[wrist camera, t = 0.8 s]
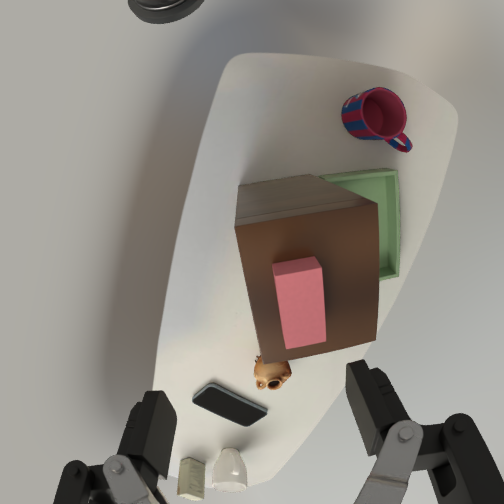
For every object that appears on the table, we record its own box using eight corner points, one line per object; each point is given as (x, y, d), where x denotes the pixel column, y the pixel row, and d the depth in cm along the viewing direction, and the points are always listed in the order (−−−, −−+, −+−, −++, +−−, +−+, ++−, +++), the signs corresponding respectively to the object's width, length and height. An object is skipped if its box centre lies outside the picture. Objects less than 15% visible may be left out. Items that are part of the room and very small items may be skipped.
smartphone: (246, 427, 55) (189, 401, 51) (246, 424, 56) (190, 398, 52) (269, 413, 53) (210, 384, 49) (269, 409, 54) (211, 381, 50)
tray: (318, 175, 38) (325, 178, 35) (386, 168, 38) (397, 170, 35) (328, 280, 44) (335, 291, 40) (389, 267, 43) (399, 276, 40)
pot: (291, 343, 48) (258, 336, 47) (303, 376, 41) (266, 370, 39) (277, 366, 50) (245, 360, 49) (287, 398, 43) (251, 394, 41)
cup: (362, 86, 34) (383, 77, 27) (403, 139, 36) (428, 140, 30) (331, 112, 35) (349, 106, 29) (375, 166, 38) (398, 171, 31)
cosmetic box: (179, 460, 63) (175, 494, 51) (189, 456, 62) (185, 492, 50) (196, 468, 64) (193, 501, 53) (206, 465, 64) (204, 499, 52)
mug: (241, 459, 62) (242, 493, 52) (211, 455, 61) (209, 490, 51) (254, 439, 58) (256, 478, 48) (220, 435, 57) (218, 474, 47)
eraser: (271, 263, 20) (274, 276, 18) (314, 255, 20) (322, 267, 18) (282, 333, 22) (286, 349, 20) (320, 326, 22) (326, 341, 20)
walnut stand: (238, 185, 38) (234, 226, 19) (310, 174, 38) (378, 203, 18) (253, 266, 42) (263, 365, 23) (319, 254, 42) (376, 340, 22)
